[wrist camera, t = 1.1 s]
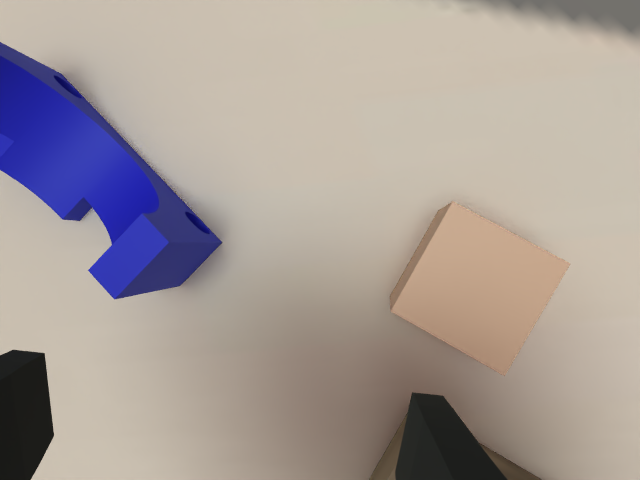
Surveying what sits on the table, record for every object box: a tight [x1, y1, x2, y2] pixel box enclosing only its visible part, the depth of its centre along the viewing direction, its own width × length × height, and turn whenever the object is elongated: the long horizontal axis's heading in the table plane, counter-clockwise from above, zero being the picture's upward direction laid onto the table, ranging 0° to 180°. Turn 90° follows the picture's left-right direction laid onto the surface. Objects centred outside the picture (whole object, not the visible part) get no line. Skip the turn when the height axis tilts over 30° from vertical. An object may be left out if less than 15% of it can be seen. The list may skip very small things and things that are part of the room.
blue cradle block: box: [0, 42, 222, 299], centre depth 22 cm, size 12×4×6 cm, turn 45°
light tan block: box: [390, 202, 570, 376], centre depth 20 cm, size 4×4×5 cm
